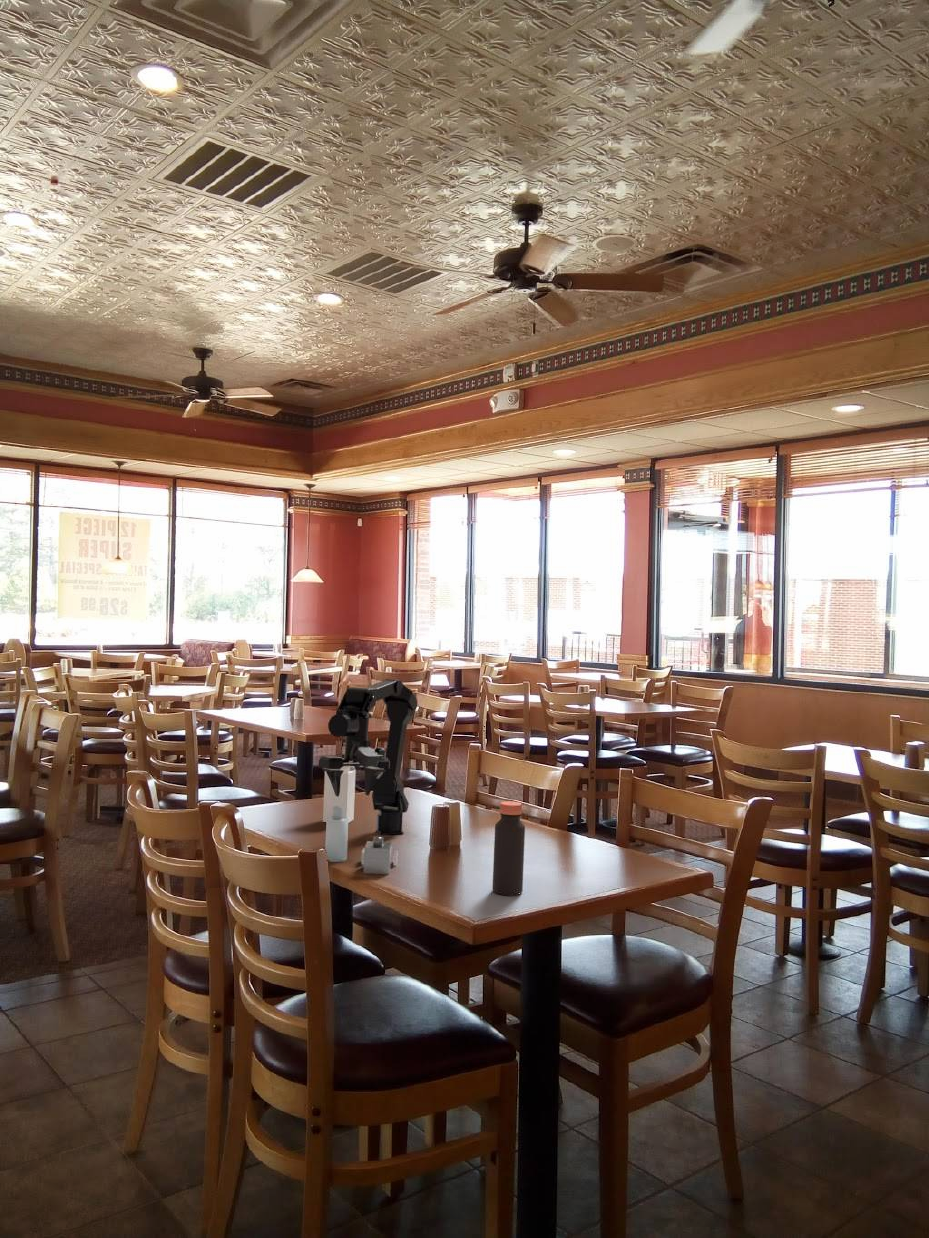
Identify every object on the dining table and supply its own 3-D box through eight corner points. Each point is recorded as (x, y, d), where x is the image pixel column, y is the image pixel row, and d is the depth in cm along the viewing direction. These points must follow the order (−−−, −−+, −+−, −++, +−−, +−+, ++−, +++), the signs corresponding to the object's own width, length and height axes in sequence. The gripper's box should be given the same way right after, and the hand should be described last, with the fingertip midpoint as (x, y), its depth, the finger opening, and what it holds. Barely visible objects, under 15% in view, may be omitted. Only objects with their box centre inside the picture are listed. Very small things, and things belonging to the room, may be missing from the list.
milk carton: (345, 825, 276) (348, 759, 276) (322, 823, 277) (325, 757, 277) (353, 820, 283) (356, 756, 283) (330, 818, 284) (333, 754, 284)
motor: (362, 860, 237) (364, 828, 237) (397, 861, 237) (398, 829, 237) (357, 872, 225) (359, 839, 225) (394, 874, 225) (395, 840, 225)
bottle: (518, 887, 219) (522, 800, 219) (525, 896, 212) (529, 806, 212) (489, 887, 218) (493, 800, 218) (495, 896, 211) (499, 806, 211)
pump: (344, 855, 241) (346, 804, 241) (348, 861, 236) (350, 808, 236) (323, 856, 239) (325, 804, 239) (326, 862, 234) (329, 809, 234)
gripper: (342, 738, 237) (338, 801, 236) (403, 738, 249) (399, 799, 248) (319, 734, 246) (315, 795, 245) (379, 735, 258) (375, 793, 257)
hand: (352, 795), depth 248 cm, fingers open, 9 cm apart
